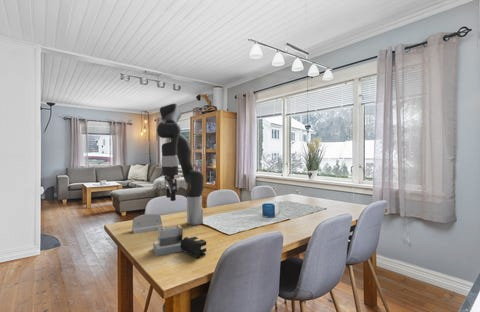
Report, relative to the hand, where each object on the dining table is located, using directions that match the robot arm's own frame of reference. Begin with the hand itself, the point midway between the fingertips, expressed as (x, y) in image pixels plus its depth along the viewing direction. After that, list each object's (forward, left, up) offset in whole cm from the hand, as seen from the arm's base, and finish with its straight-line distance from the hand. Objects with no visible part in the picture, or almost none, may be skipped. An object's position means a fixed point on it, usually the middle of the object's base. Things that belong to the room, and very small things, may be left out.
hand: (170, 199), depth 120 cm
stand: (+1, +4, -23) cm, 23 cm away
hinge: (+7, -32, -23) cm, 40 cm away
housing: (+1, +4, -20) cm, 20 cm away
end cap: (-7, +14, -23) cm, 28 cm away
